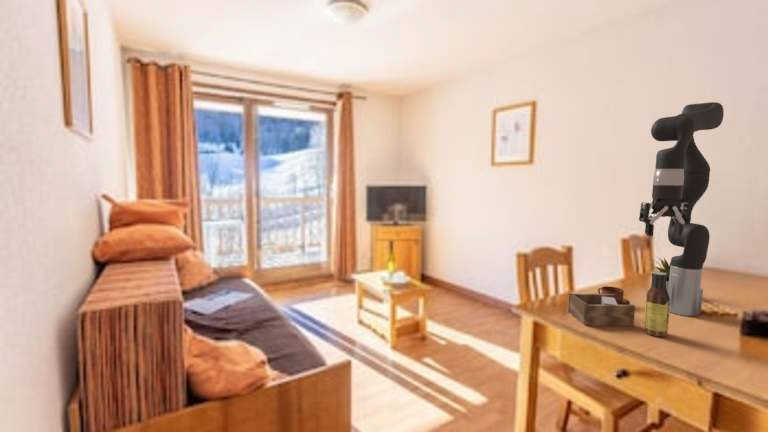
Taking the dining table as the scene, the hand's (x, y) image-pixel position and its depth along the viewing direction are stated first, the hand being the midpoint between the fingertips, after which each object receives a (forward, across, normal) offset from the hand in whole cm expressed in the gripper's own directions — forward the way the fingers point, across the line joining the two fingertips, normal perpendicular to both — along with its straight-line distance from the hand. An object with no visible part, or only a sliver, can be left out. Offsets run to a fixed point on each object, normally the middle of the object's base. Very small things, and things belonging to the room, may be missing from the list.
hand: (663, 235), depth 120 cm
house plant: (+32, -33, -41) cm, 62 cm away
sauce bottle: (+32, 0, 0) cm, 32 cm away
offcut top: (+29, +8, -12) cm, 32 cm away
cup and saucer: (+32, -2, -27) cm, 42 cm away
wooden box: (+32, +11, -12) cm, 36 cm away
